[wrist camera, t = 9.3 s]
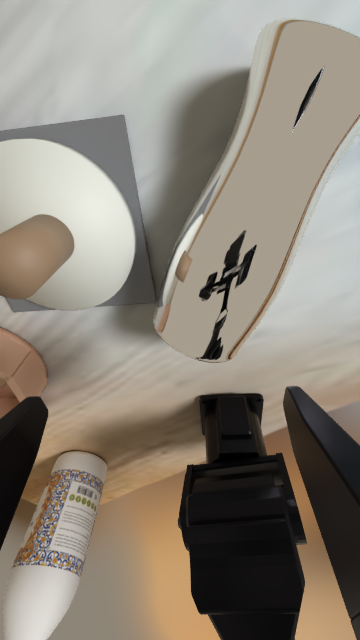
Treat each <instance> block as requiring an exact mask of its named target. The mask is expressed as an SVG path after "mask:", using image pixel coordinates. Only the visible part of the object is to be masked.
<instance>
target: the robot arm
mask: <svg viewBox="0 0 360 640" xmlns="http://www.w3.org/2000/svg"><path fill="white" fill-rule="evenodd" d="M199 401H200V413H201V423H202V434H203V435H205V437H206V462H207V464H200V465H193V464H192V465H187V472H186V474H185V480H184V486H183V492H182V499H181V506H180V512H179V518H178V526H179V528H180V529H181V530H182V537H183V541H184V544H185V547H186V549H187V550H188V551H189V554H190V568H191V593H192V597H193V599H194V602H195V604H196V607H197V609H198V612H199V613H200V614H208V616H209V618H210V620H211V621H212V623H213V625H214V627H215V629H216V631H217V633H218V635H219V637H220V639H221V640H295V633H296V628H297V622H298V617H299V612H300V607H301V602H302V597H303V592H304V586H305V580H304V575H303V571H302V566H301V562H300V558H299V554H298V551H297V546H296V545H303V544H307V542H306V537H305V533H304V529H303V525H302V522H301V518H300V514H299V510H298V507H297V503H296V499H295V496H294V492H293V489H292V486H291V482H290V479H289V475H288V472H287V468H286V465H285V462H284V458H283V455H282V453H276V455H269V456H267V452H266V448H265V444H264V439H263V435H262V431H261V419H262V410H263V401H264V400H263V396H262V395H261V394H245V395H217V396H202V397H200V399H199ZM283 407H284V412H285V417H286V421H287V426H288V430H289V435H290V439H291V444H292V448H293V452H294V455H295V458H296V461H297V464H298V467H299V470H300V473H301V476H302V479H303V482H304V485H305V488H306V491H307V494H308V497H309V500H310V503H311V506H312V508H313V511H314V514H315V517H316V520H317V523H318V526H319V529H320V532H321V535H322V538H323V540H324V544H325V547H326V550H327V553H328V556H329V559H330V561H331V565H332V567H333V570H334V573H335V576H336V579H337V582H338V585H339V588H340V591H341V594H342V597H343V599H344V602H345V606H346V609H347V612H348V614H349V617H350V619H351V624H352V627H353V629H354V633H355V636H356V639H357V640H360V445H359V444H358V443H357V442H356V441H355V440H353V438H352V437H351V436H349V434H348V433H346V432H345V431H344V430H343V429H342V428H341V427H340V426H339V425H338V424H337V423H336V422H335V421H334V420H333V419H332V418H331V417H330V416H329V415H328V414H327V413H326V412H325V411H324V410H323V409H322V408H321V407H320V406H319V405H318V404H317V403H316V402H315V401H313V400H312V399H311V398H310V397H309V396H308V395H307V394H306V393H305V392H304V391H303V390H302V389H301V388H300V387H298V386H289V387H286V389H285V395H284V401H283ZM47 418H48V409H47V407H46V405H45V404H44V402H43V400H42V399H41V397H39V396H29V397H27V398H25V399H24V400H23V401H21V402H20V403H19V404H18V405H17V406H15V407H14V408H13V409H12V410H10V411H9V412H8V413H7V414H5V415H4V416H3V417H2V418H0V550H1V547H2V545H3V542H4V539H5V537H6V534H7V532H8V529H9V527H10V524H11V521H12V519H13V516H14V514H15V511H16V508H17V506H18V503H19V501H20V498H21V496H22V493H23V490H24V488H25V485H26V483H27V480H28V477H29V475H30V472H31V470H32V467H33V464H34V462H35V459H36V456H37V453H38V450H39V447H40V443H41V439H42V436H43V432H44V429H45V425H46V421H47Z"/></svg>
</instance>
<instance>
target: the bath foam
mask: <svg viewBox="0 0 360 640" xmlns="http://www.w3.org/2000/svg"><path fill="white" fill-rule="evenodd" d="M106 474H107V465H106V463H105V462H104V461H103V460H102V459H101V458H100V457H98V456H96V455H94V454H91V453H88V452H83V451H71V452H66V453H64V454H62V455H61V456H59V457H58V459H57V460H56V463H55V465H54V467H53V470H52V472H51V475H50V477H49V479H48V481H47V484H46V486H45V489H44V491H43V494H42V496H41V498H40V501H39V503H38V506H37V508H36V511H35V513H34V515H33V518H32V520H31V523H30V525H29V528H28V530H27V532H26V535H25V537H24V539H23V542H22V545H21V547H20V549H19V552H18V554H17V557H16V559H15V561H14V564H13V566H12V568H11V572H10V574H9V577H8V581H7V585H6V589H5V594H4V600H3V628H4V640H47V639H48V637H49V636H50V635H51V633H52V632H53V631H54V629H55V628H56V626H57V625H58V624H59V622H60V621H61V619H62V618H63V616H64V615H65V613H66V611H67V610H68V608H69V606H70V604H71V602H72V600H73V598H74V595H75V593H76V590H77V588H78V584H79V581H80V578H81V574H82V570H83V566H84V562H85V558H86V554H87V550H88V546H89V542H90V538H91V534H92V530H93V526H94V522H95V518H96V514H97V510H98V506H99V502H100V498H101V494H102V490H103V486H104V482H105V478H106Z"/></svg>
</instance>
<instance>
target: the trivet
mask: <svg viewBox="0 0 360 640" xmlns="http://www.w3.org/2000/svg"><path fill="white" fill-rule="evenodd" d="M32 138H37V139H45V140H51V141H54V142H58V143H61V144H64V145H66V146H69V147H71V148H73V149H75V150H77V151H79V152H80V153H82V154H84V155H86V156H87V157H88V158H90V159H91V160H92V161H94V162H95V163H96V164H97V165H98V166H100V167H101V168H102V169H103V170H104V171H105V172H106V173H107V174H108V175H109V177H110V178H111V179H112V180H113V181H114V182H115V184H116V185H117V187H118V188H119V190H120V191H121V193H122V194H123V196H124V198H125V200H126V202H127V204H128V206H129V209H130V211H131V214H132V216H133V220H134V224H135V230H136V254H135V259H134V262H133V266H132V268H131V270H130V273H129V275H128V277H127V279H126V281H125V283H124V284H123V286H122V287H121V288H120V290H119V291H118V292H117V293H116V294H115V295H114V296H112V297H111V298H110V299H109V300H107V301H105V302H103V303H102V304H99V305H97V306H94V307H99V306H114V305H129V304H143V303H156V295H155V289H154V283H153V278H152V272H151V266H150V260H149V255H148V249H147V243H146V237H145V232H144V226H143V220H142V214H141V209H140V203H139V197H138V191H137V186H136V180H135V174H134V168H133V163H132V157H131V151H130V145H129V140H128V134H127V128H126V122H125V117H124V115H118V116H110V117H103V118H95V119H87V120H80V121H72V122H65V123H57V124H49V125H42V126H34V127H27V128H19V129H11V130H4V131H0V142H2V141H7V140H12V139H32ZM7 300H8V302H9V304H10V306H11V308H12V310H13V312H25V311H40V310H55V309H54V308H49V307H45V306H42V305H39V304H36V303H34V302H32V301H29V300H27V299H20V300H17V299H10V298H7Z"/></svg>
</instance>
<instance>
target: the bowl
mask: <svg viewBox="0 0 360 640" xmlns="http://www.w3.org/2000/svg"><path fill="white" fill-rule="evenodd" d="M47 377H48V372H47V367H46V364H45V362H44V360H43V358H42V357H41V355H40V354H39V353H38V351H37V350H36V349H35V348H34V347H33V346H32V345H31V344H29V343H28V342H27V341H26V340H24V339H23V338H21V337H20V336H18V335H16V334H15V333H13V332H11V331H9V330H7V329H4V328H1V327H0V418H2V417H3V416H4V415H5V414H7V413H8V412H9V411H10V410H12V409H13V408H14V407H15V406H17V405H18V404H19V403H20V402H21V401H23V400H24V399H25V398H27V397H29V396H39V397H40V395H41V394H42V392H43V390H44V388H45V387H46V385H47V383H48V380H47Z"/></svg>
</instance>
